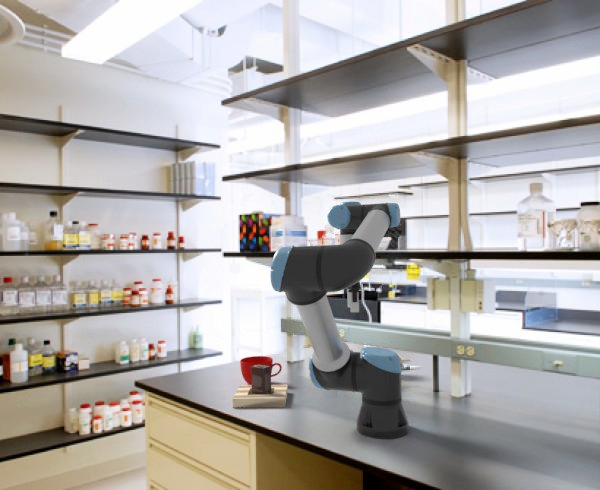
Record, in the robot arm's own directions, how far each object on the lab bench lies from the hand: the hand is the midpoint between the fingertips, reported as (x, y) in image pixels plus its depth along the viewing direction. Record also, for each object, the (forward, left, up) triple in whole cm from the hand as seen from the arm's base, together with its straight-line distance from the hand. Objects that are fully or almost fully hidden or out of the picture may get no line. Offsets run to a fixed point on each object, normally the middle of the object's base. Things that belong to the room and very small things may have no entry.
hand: (353, 309), depth 168 cm
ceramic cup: (+29, +35, -33) cm, 56 cm away
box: (+9, +33, -33) cm, 47 cm away
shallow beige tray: (+9, +33, -33) cm, 47 cm away
